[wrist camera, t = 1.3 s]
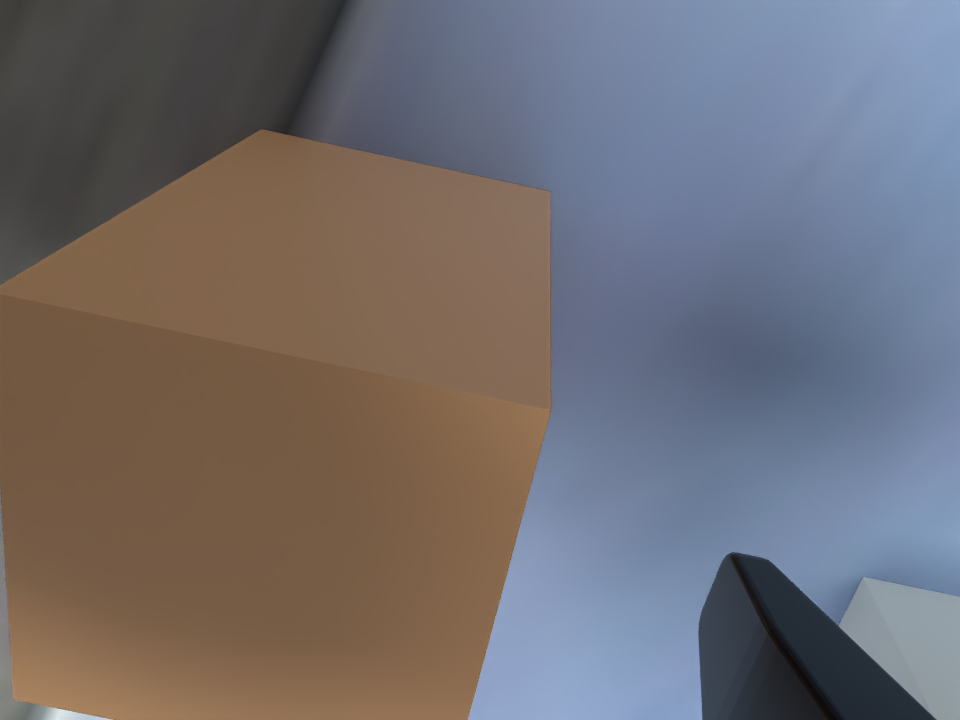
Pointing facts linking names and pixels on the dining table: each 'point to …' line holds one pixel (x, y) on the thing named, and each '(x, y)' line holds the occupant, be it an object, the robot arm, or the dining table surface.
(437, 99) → the dining table surface
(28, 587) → the brown block
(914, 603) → the off-white cube
